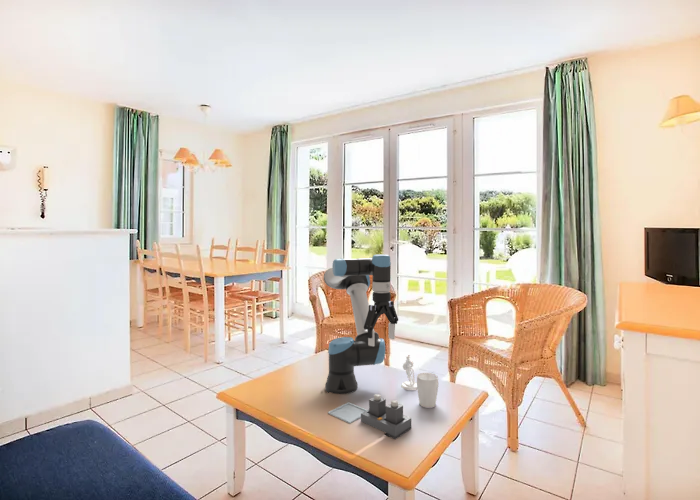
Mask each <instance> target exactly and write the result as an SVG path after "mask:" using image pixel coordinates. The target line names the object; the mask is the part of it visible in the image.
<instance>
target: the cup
mask: <svg viewBox="0 0 700 500" xmlns="http://www.w3.org/2000/svg"><path fill="white" fill-rule="evenodd" d="M416 383H417V395H418V396H417V397H418V401H419V402H418V404H419V405H420V407H422V408H426V409H431V408H435V407H436V405H437V404H436V403H437V396H438V392H439V376H438V375H436V374H435V373H433V372H419V373H418V374H416Z"/></svg>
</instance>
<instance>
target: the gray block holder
mask: <svg viewBox="0 0 700 500" xmlns="http://www.w3.org/2000/svg"><path fill="white" fill-rule="evenodd" d="M386 401H387V400H386V398H383V397H382V395H381V394H379V393H376V394H373V397H372V398H369V400H368V409H367V411H365V412H363V413H361V418H360V422H362V423H364V424H366V425H367V426H370V427H372V428H375V429H377V430H379V431H381V432H384V433H383V435H385V436H387V437H390V438H391V439H393V440H397V439H398V438H400V437H401V436H403V435H404V434H405V433H407V432H409V431H410V430H411V429H412V417H410V416H408V415H405V414H403V421H402V422H400V423H399V424H397V425H395V424H392V423H390V422H388V421H386V406H387V404H386V403H387V402H386Z"/></svg>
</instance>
